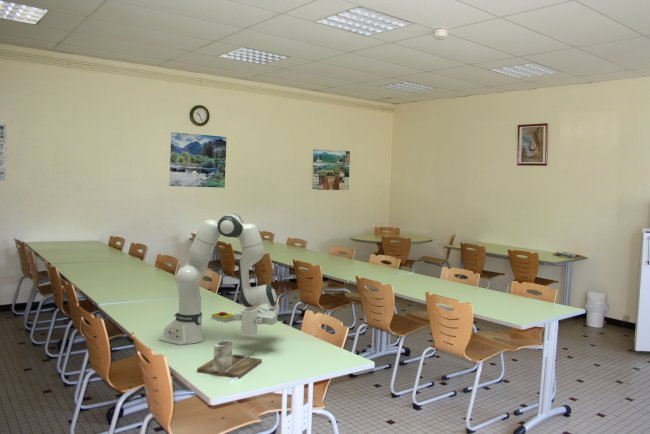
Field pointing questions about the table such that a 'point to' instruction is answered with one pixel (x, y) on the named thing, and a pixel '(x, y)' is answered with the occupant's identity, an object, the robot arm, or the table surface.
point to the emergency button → (223, 317)
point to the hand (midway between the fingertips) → (248, 321)
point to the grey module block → (249, 322)
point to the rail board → (235, 370)
